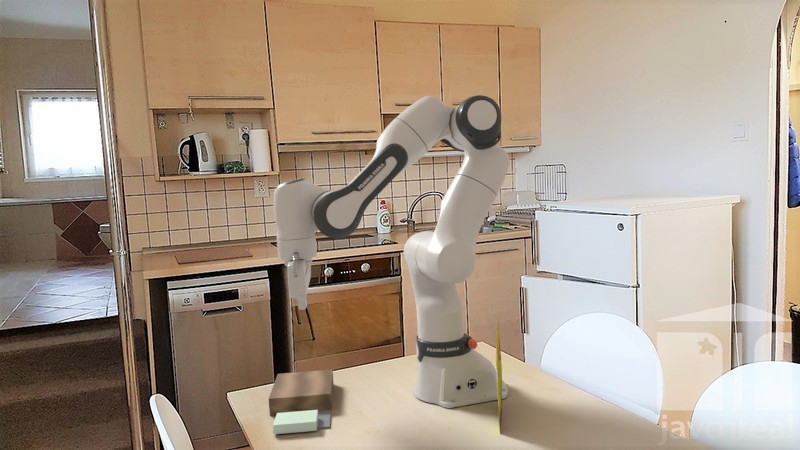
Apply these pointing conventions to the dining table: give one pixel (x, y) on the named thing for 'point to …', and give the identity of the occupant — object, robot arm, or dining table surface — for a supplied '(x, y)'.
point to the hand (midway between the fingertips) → (302, 308)
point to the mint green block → (295, 422)
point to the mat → (323, 419)
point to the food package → (499, 374)
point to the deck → (302, 392)
